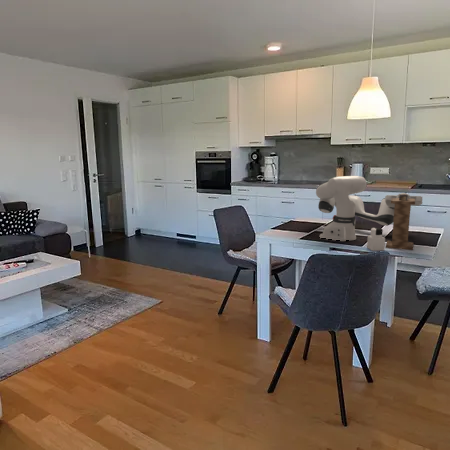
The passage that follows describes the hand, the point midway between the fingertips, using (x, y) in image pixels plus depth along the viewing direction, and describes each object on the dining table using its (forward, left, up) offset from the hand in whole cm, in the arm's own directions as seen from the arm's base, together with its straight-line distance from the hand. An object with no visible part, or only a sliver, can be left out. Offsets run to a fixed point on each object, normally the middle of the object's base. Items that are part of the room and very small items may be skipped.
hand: (403, 194), depth 224 cm
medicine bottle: (-12, -21, -29) cm, 38 cm away
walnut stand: (0, -10, -28) cm, 30 cm away
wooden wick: (0, -4, -1) cm, 4 cm away
